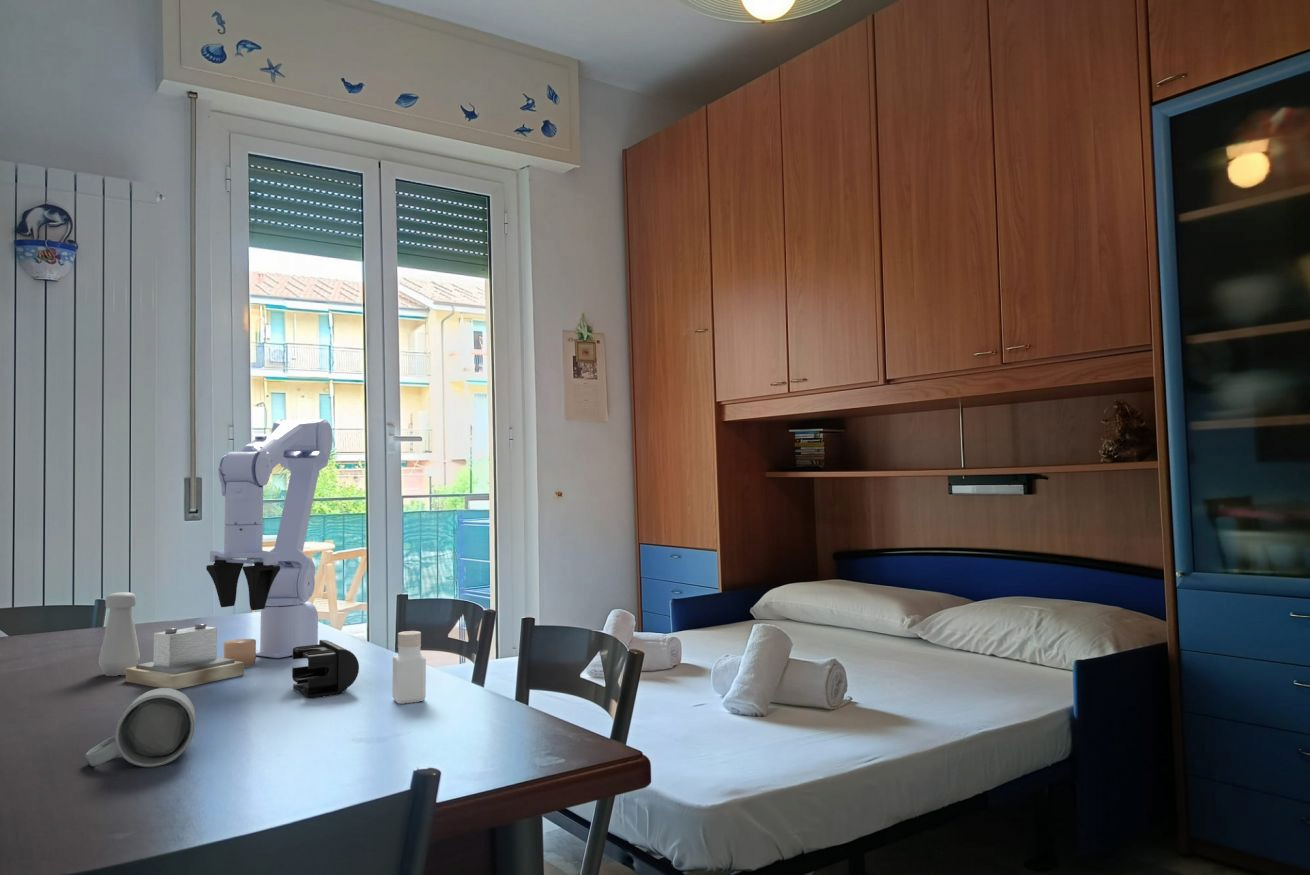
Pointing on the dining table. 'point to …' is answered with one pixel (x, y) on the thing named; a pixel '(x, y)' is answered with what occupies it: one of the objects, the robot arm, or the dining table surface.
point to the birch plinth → (184, 673)
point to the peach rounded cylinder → (241, 651)
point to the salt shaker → (119, 636)
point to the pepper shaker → (409, 669)
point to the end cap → (324, 670)
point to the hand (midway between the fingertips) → (242, 608)
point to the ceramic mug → (150, 730)
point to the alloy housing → (185, 646)
